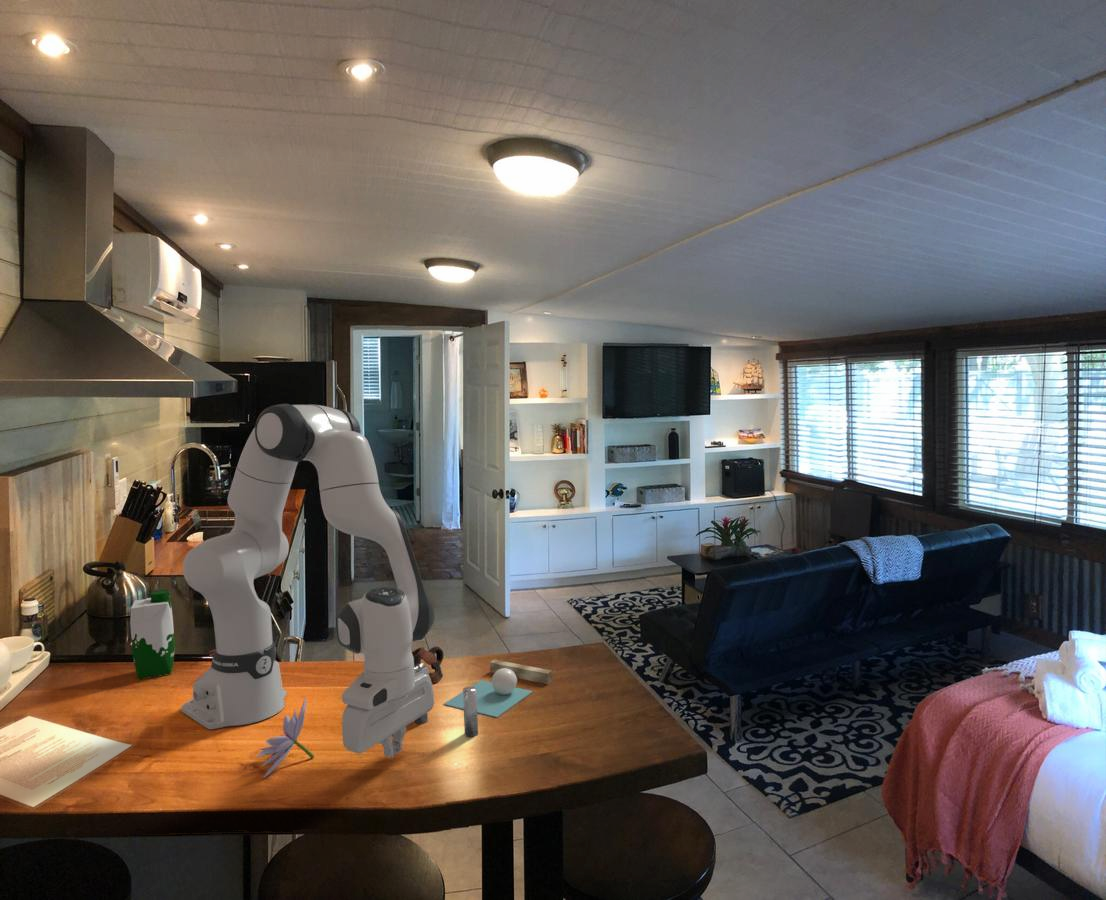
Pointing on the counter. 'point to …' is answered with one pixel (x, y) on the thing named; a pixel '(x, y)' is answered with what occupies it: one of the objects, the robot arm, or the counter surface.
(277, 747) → the water lily
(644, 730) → the counter surface
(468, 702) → the post
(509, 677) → the ball
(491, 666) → the stopper strip
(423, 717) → the post
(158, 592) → the milk carton
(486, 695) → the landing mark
